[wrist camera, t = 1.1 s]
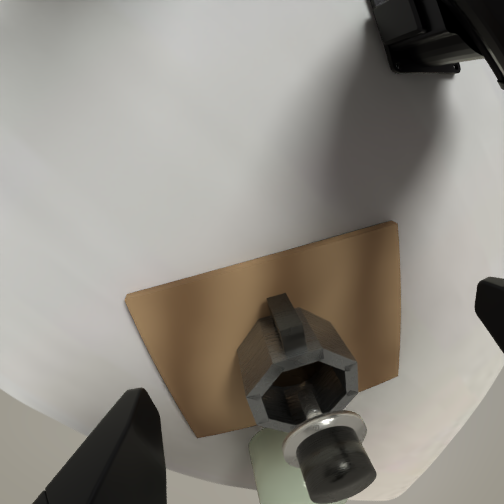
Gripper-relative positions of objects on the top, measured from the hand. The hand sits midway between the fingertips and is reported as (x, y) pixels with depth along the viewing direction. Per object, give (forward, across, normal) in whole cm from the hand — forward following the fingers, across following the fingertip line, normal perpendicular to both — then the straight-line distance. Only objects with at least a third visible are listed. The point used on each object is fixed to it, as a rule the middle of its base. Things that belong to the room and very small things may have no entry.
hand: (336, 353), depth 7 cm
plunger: (+8, 0, +10) cm, 12 cm away
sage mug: (+13, +1, +22) cm, 25 cm away
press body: (+12, 0, +10) cm, 15 cm away
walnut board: (+13, 0, +10) cm, 16 cm away
